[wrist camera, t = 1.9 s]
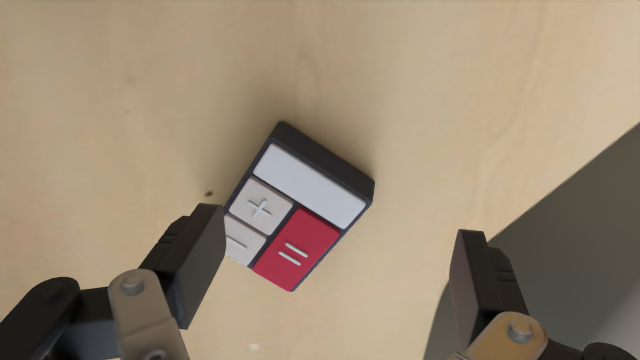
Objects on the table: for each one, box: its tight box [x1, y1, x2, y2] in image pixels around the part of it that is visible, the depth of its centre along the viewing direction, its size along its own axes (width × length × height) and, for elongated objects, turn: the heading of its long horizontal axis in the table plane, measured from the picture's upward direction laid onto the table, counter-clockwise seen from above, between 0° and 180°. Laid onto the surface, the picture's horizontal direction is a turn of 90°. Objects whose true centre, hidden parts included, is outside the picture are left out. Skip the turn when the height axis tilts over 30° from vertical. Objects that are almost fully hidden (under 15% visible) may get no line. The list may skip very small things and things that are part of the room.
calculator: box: [223, 121, 375, 292], centre depth 44 cm, size 11×4×15 cm
